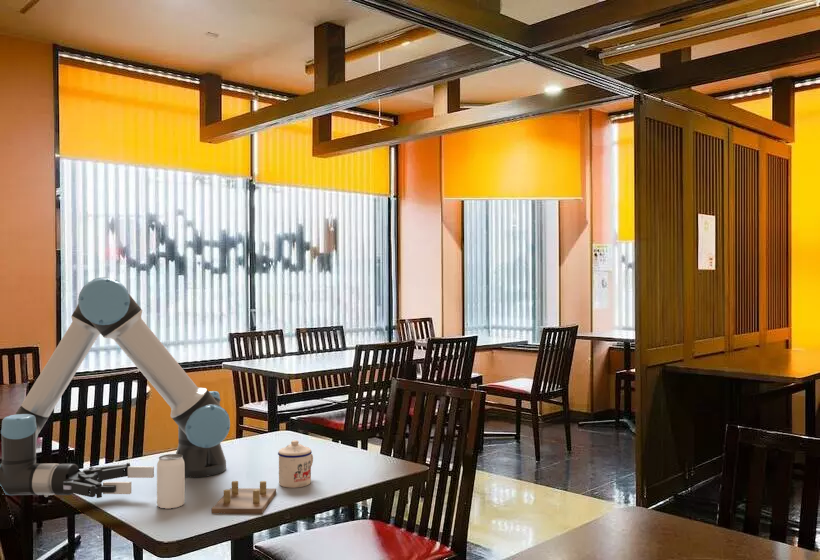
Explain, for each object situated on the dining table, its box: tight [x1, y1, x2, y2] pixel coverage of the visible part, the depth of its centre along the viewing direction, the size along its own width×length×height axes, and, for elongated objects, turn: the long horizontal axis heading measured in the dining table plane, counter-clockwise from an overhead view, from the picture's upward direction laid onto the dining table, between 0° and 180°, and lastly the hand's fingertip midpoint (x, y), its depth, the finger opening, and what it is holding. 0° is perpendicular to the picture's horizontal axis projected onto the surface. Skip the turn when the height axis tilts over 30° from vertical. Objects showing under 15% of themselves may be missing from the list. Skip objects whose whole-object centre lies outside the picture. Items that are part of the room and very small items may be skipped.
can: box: [156, 453, 186, 510], centre depth 172 cm, size 6×6×12 cm
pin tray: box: [211, 480, 277, 515], centre depth 174 cm, size 16×12×4 cm
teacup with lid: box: [277, 439, 314, 489], centre depth 191 cm, size 12×9×12 cm
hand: (142, 479), depth 172 cm, fingers open, 13 cm apart
